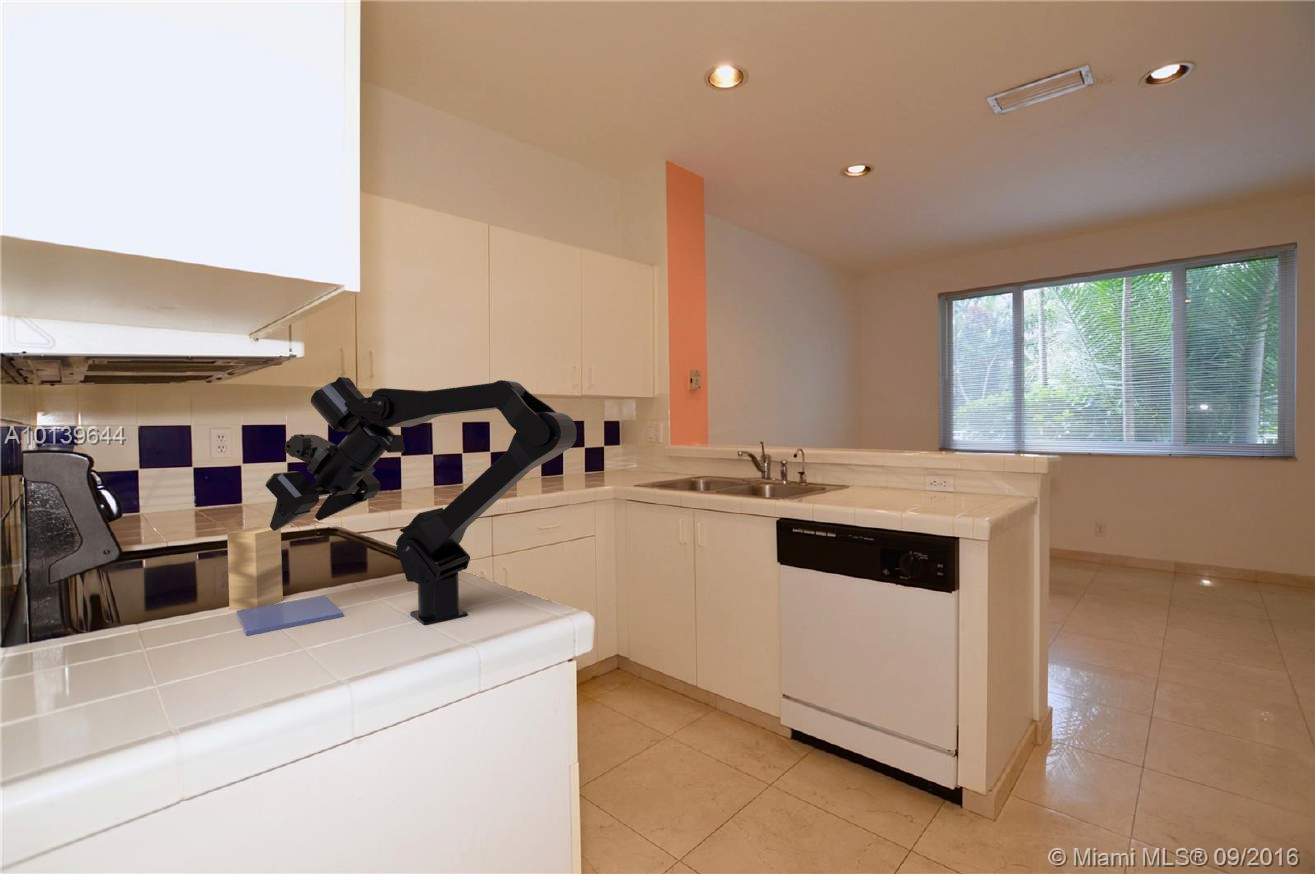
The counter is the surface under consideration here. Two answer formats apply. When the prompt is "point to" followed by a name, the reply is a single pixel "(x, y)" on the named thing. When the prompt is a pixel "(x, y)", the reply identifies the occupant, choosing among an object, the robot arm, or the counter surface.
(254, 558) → the oak block
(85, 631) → the counter surface
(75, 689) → the counter surface
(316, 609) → the blue tile
